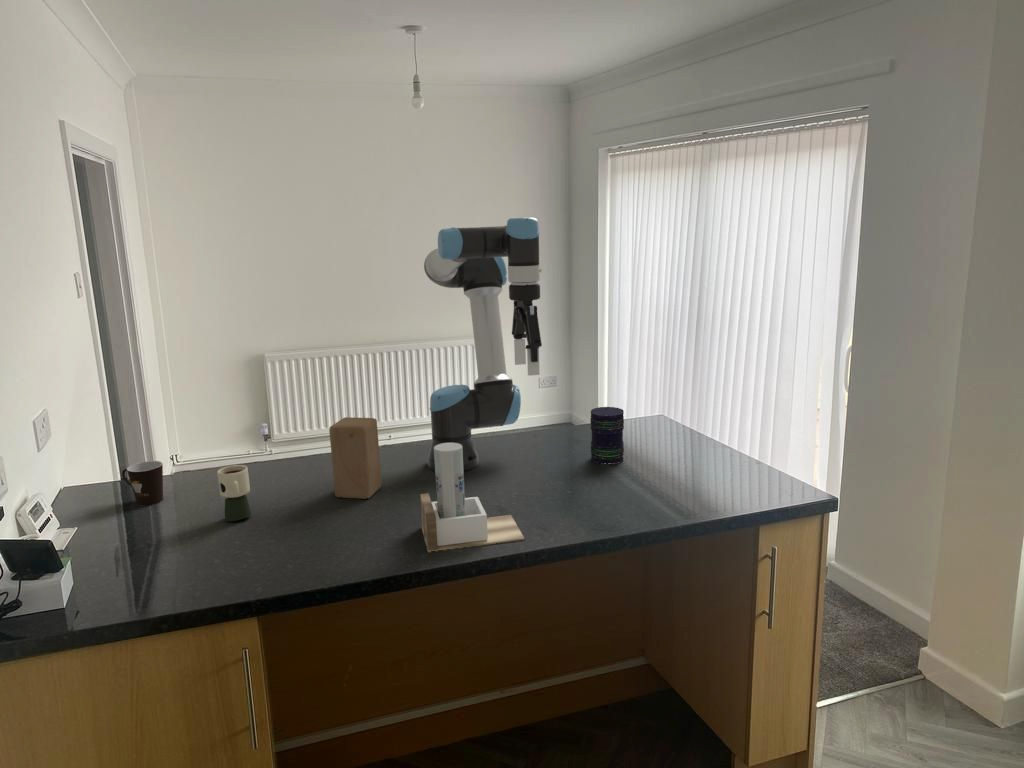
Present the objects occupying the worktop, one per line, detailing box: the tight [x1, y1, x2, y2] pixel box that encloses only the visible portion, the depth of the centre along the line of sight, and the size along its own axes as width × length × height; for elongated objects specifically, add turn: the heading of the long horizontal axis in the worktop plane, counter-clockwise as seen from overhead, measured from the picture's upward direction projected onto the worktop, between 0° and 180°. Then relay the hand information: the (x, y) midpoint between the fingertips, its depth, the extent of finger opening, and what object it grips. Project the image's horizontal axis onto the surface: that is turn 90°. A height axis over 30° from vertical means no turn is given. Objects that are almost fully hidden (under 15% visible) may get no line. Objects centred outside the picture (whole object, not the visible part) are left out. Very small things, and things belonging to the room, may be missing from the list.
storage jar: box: [590, 406, 625, 465], centre depth 217 cm, size 10×10×15 cm
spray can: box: [434, 443, 466, 519], centre depth 168 cm, size 6×6×20 cm
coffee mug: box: [121, 460, 164, 506], centre depth 198 cm, size 12×9×10 cm
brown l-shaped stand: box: [419, 492, 525, 553], centre depth 170 cm, size 14×22×8 cm, turn 103°
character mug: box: [216, 464, 252, 522], centre depth 183 cm, size 11×7×13 cm, turn 26°
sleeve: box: [431, 496, 488, 546], centre depth 170 cm, size 12×12×6 cm
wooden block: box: [329, 416, 383, 500], centre depth 197 cm, size 10×10×20 cm
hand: (526, 369), depth 181 cm, fingers open, 13 cm apart
